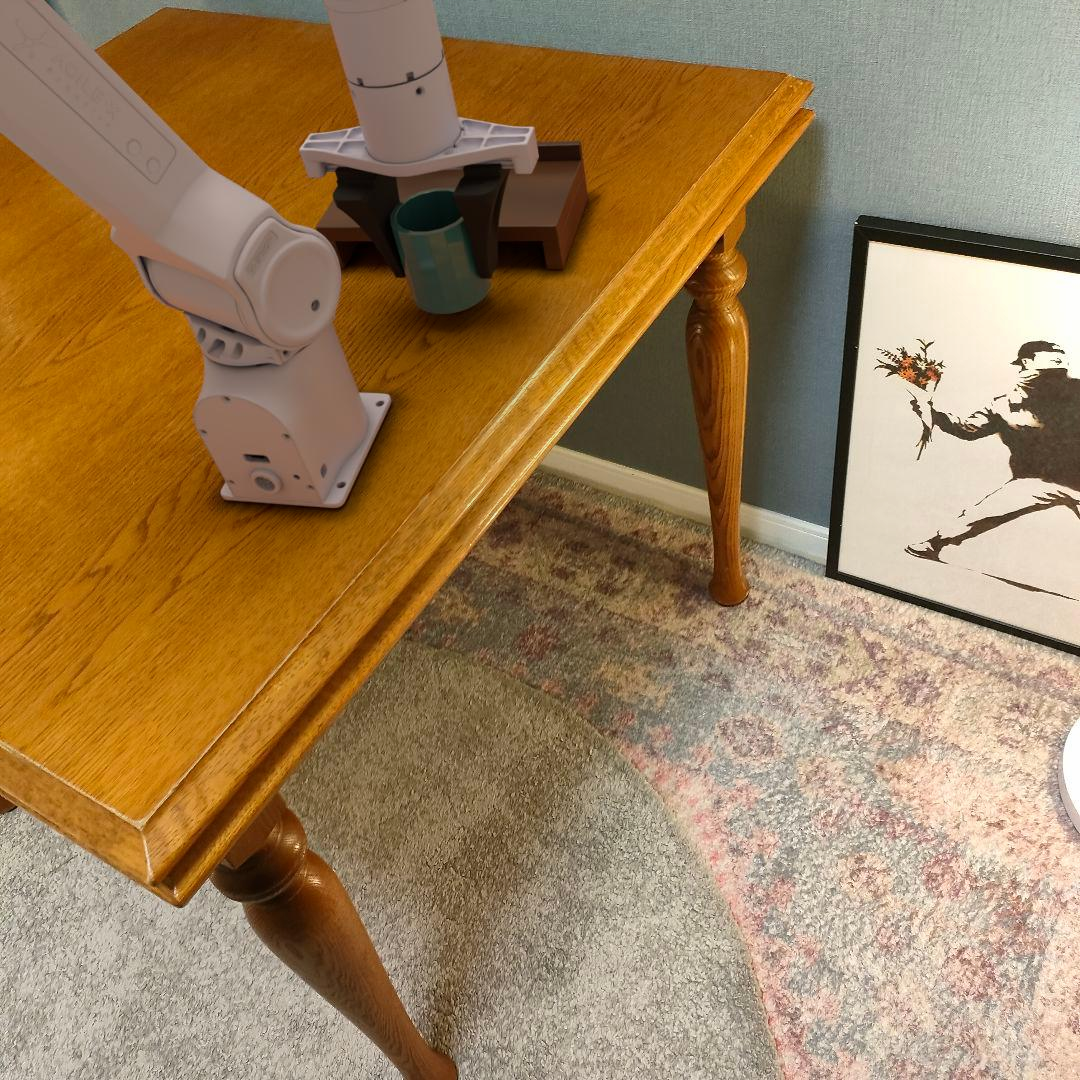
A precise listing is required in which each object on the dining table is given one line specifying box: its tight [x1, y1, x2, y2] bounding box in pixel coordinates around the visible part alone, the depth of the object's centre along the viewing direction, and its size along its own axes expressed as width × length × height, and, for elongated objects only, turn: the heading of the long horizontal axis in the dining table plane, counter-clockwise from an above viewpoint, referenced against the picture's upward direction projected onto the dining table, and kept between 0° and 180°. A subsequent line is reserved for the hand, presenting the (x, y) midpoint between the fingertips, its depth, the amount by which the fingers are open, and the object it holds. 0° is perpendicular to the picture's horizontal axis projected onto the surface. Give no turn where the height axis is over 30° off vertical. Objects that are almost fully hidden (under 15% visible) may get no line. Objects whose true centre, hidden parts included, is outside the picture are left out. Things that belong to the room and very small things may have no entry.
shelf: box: [315, 140, 589, 271], centre depth 73 cm, size 9×18×5 cm, turn 77°
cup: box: [390, 188, 492, 315], centre depth 65 cm, size 5×5×6 cm
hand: (447, 269), depth 66 cm, fingers closed on cup, 5 cm apart
